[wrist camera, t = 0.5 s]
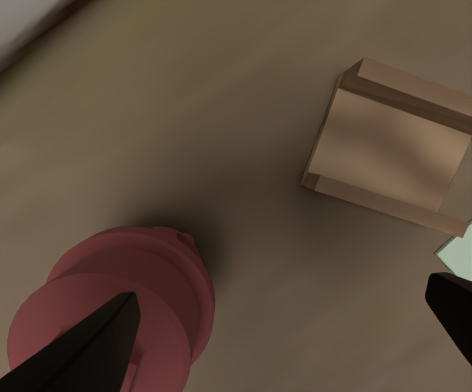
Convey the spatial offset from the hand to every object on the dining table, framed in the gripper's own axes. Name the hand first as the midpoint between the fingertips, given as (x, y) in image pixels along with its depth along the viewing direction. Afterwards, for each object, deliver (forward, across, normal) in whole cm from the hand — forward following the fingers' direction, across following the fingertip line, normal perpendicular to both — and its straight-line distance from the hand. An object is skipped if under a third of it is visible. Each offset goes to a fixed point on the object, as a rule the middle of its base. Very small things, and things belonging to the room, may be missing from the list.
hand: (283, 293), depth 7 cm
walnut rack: (+15, -12, -2) cm, 19 cm away
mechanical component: (+14, +8, +7) cm, 17 cm away
